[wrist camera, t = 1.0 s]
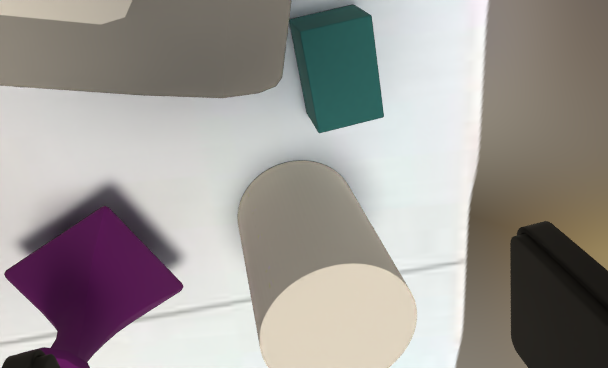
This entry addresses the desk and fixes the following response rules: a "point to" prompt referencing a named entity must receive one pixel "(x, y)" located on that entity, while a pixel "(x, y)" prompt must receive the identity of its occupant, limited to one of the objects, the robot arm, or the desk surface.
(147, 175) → the desk surface
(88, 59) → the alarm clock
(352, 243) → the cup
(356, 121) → the eraser
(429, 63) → the desk surface
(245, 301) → the desk surface
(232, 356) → the desk surface
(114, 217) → the perfume bottle
